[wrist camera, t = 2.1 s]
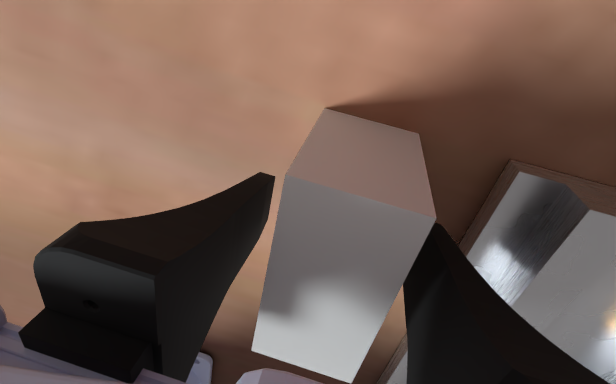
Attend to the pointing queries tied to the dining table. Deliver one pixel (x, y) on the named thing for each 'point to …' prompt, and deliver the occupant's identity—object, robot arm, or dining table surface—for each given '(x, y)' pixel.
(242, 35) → the dining table surface
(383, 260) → the white rectangular block
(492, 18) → the dining table surface
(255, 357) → the dining table surface
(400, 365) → the slotted base
